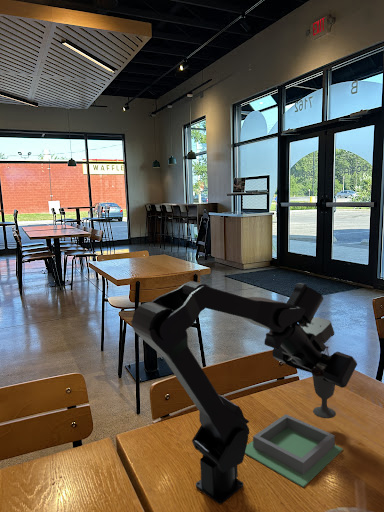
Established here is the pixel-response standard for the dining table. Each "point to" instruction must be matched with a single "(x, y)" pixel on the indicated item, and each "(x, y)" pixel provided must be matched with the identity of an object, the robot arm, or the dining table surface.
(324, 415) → the sundae
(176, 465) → the dining table surface
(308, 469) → the rimmed mat
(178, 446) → the dining table surface
